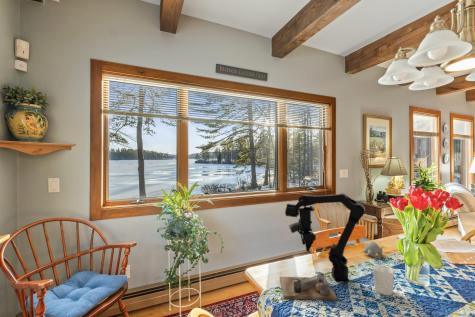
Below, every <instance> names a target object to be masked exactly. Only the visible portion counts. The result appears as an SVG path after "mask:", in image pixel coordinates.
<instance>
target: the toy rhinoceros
mask: <svg viewBox="0 0 475 317" xmlns="http://www.w3.org/2000/svg"><path fill="white" fill-rule="evenodd" d="M362 252H363V253H364V254H367V255H368V256H371V257H372V258H376V257H377V255H378V256H382V255H383V253H384V250H383V247H381V246H380V245H378V243H376V242H375V241H367V242H366V243H365V247H364V249H363V250H362Z"/></svg>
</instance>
